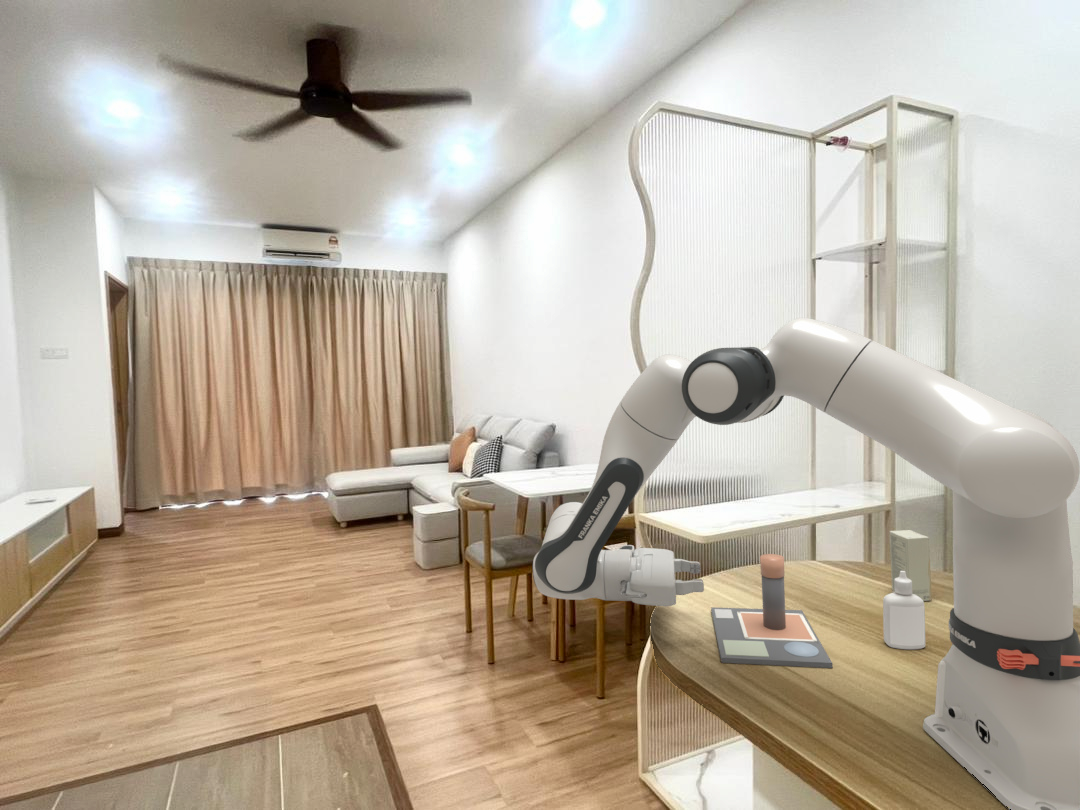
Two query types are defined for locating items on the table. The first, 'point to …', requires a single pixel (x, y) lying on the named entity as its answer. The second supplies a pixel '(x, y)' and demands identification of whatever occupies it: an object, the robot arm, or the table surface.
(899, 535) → the skincare box
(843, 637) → the table surface
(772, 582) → the terracotta marker
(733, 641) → the picture board
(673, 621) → the table surface
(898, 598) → the eye dropper bottle
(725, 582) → the table surface
